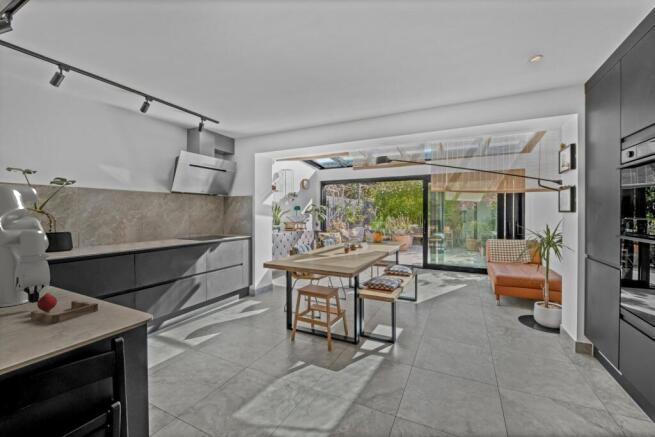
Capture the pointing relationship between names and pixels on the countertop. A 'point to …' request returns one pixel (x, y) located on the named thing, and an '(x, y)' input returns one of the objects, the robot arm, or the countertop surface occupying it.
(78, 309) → the corral
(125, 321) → the countertop surface
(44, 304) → the onion
